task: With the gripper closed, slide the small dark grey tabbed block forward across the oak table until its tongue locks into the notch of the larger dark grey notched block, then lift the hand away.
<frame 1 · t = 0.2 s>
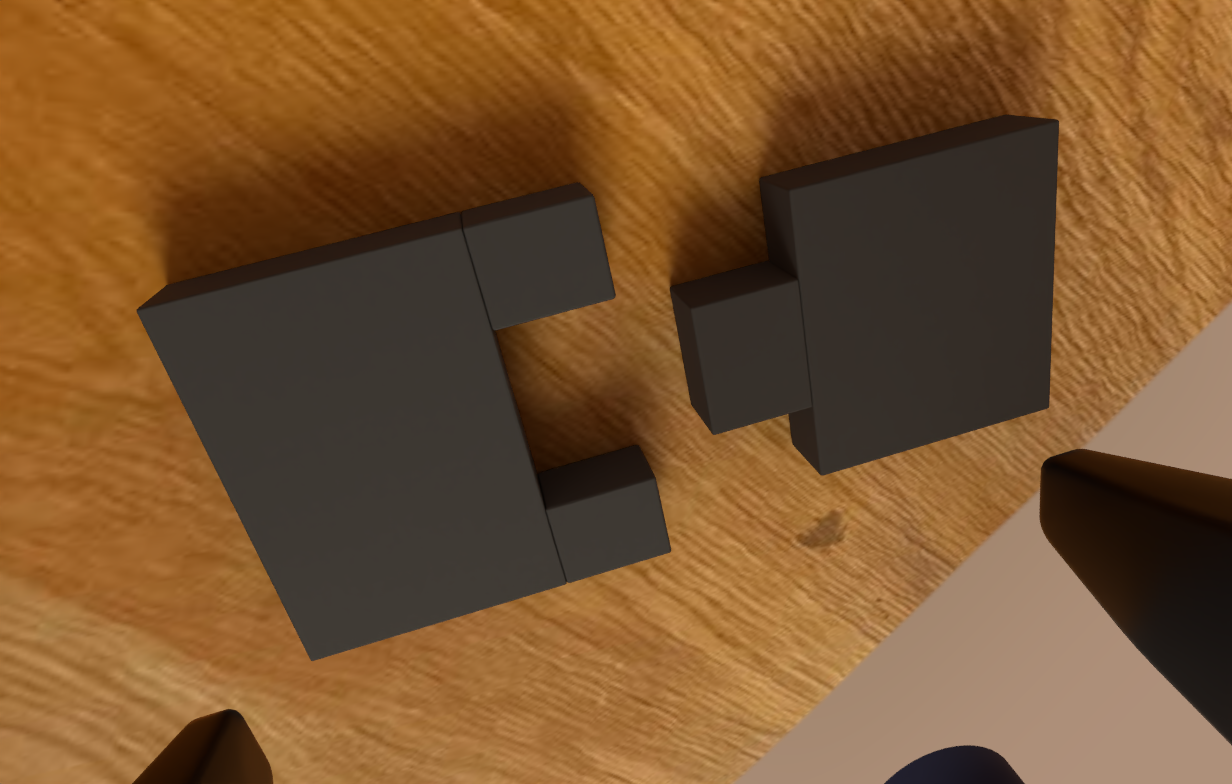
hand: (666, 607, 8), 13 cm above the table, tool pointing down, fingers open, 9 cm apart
dark grey notched block: (440, 414, 21), on the table
dark grey tabbed block: (892, 289, 22), on the table
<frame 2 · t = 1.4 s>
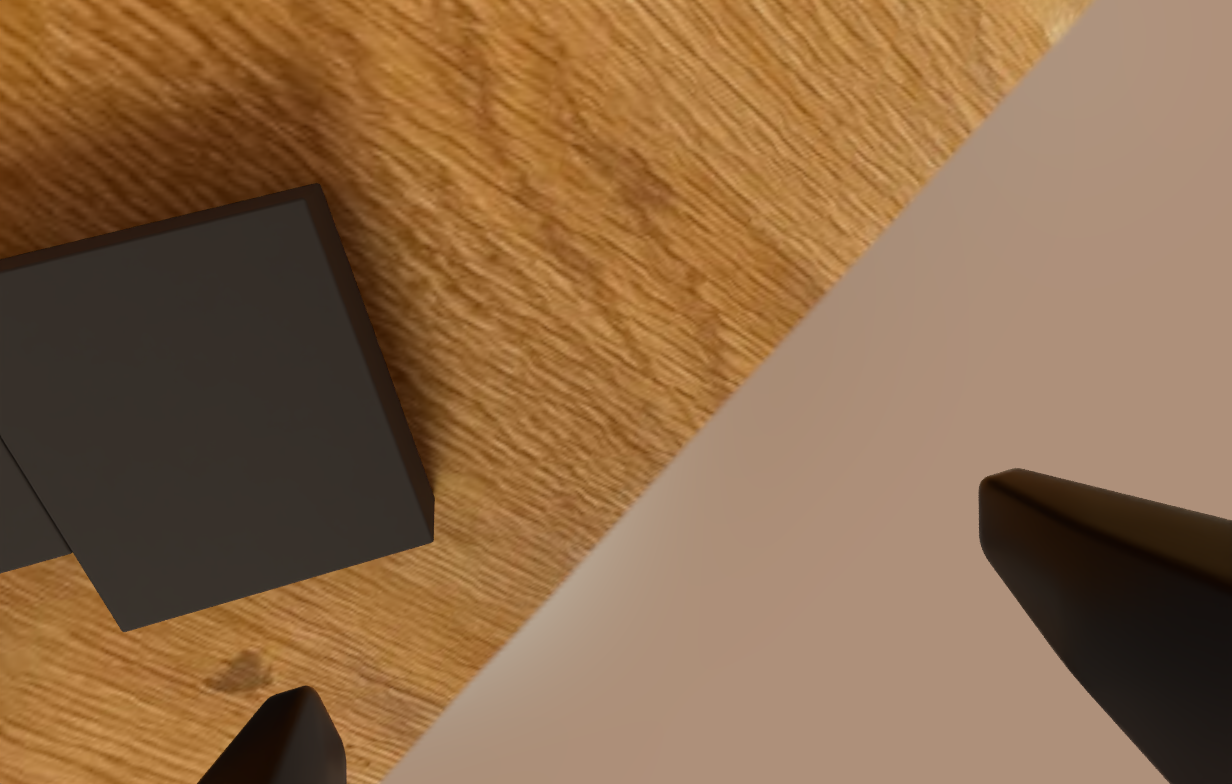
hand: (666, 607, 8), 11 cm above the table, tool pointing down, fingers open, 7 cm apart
dark grey tabbed block: (230, 395, 18), on the table
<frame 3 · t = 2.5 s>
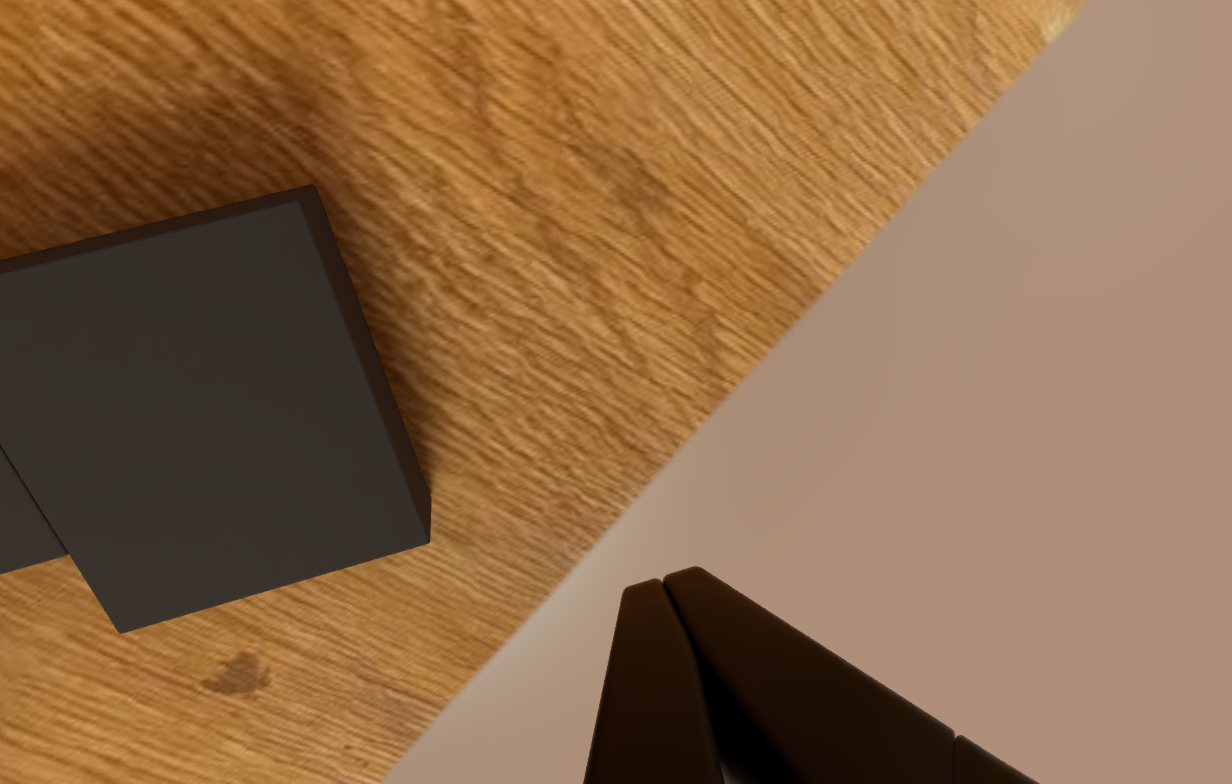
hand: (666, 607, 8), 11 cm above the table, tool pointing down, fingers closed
dark grey tabbed block: (226, 397, 18), on the table
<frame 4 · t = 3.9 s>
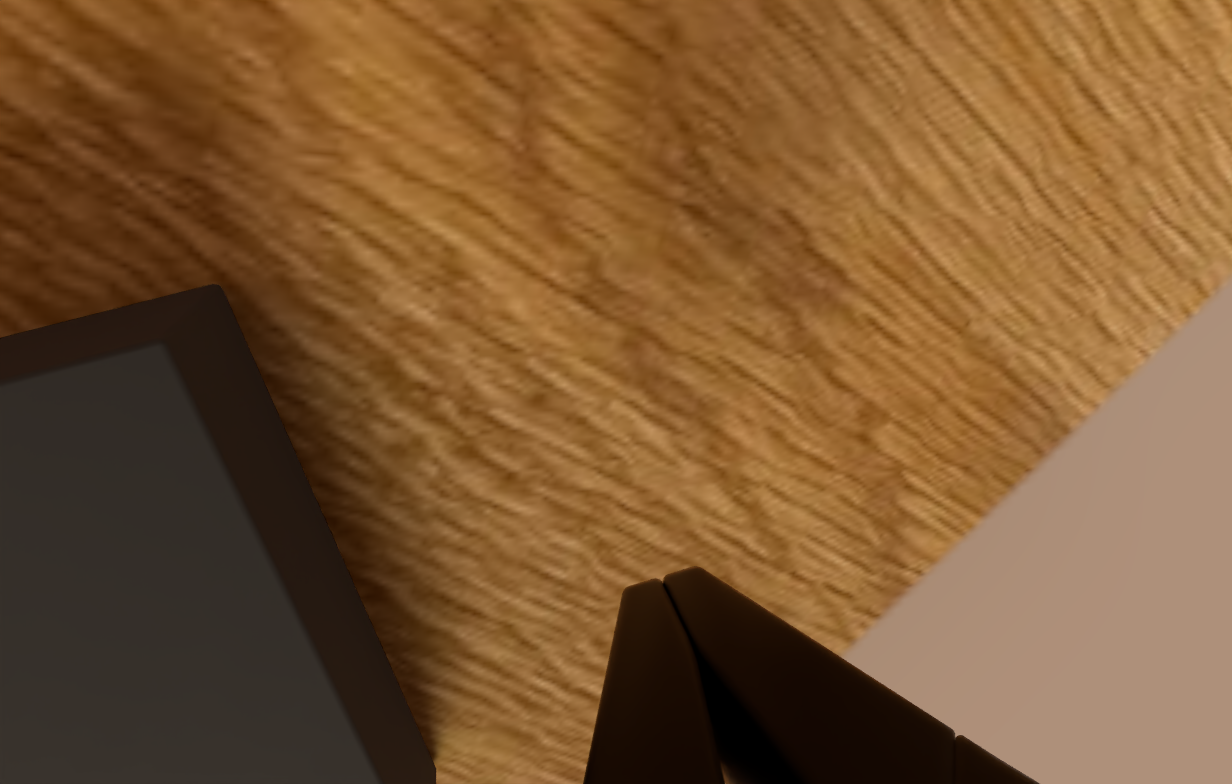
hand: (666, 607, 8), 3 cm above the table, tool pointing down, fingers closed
dark grey tabbed block: (77, 642, 10), on the table
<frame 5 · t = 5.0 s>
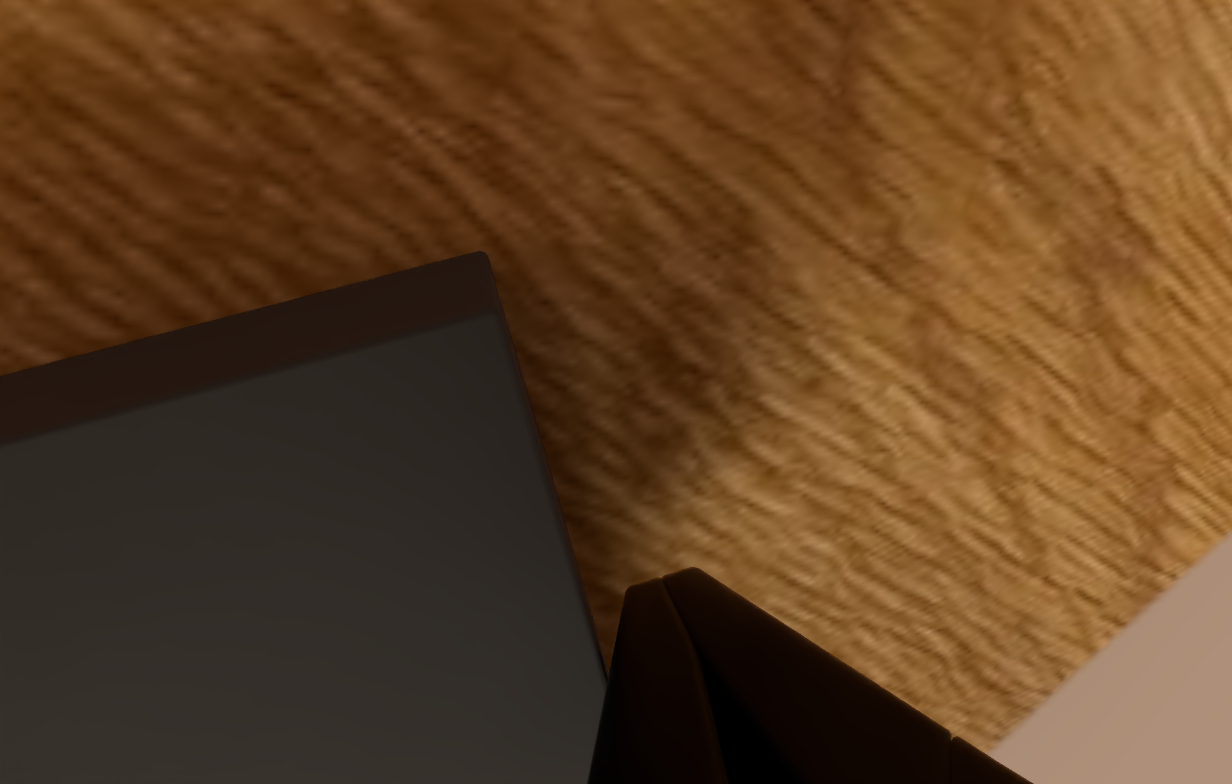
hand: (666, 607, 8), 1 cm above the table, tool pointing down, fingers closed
dark grey tabbed block: (284, 663, 9), on the table, touching gripper
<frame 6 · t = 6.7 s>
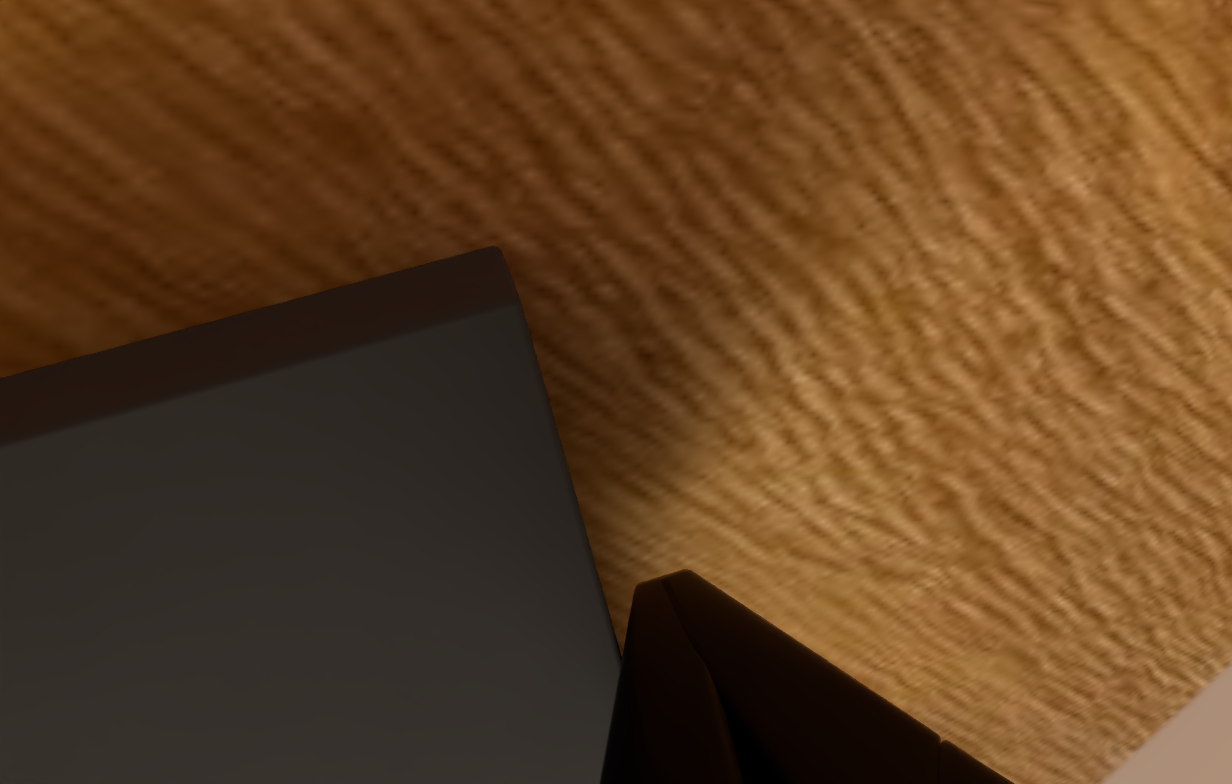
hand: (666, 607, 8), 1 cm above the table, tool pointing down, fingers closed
dark grey tabbed block: (298, 659, 9), on the table, touching dark grey notched block, gripper
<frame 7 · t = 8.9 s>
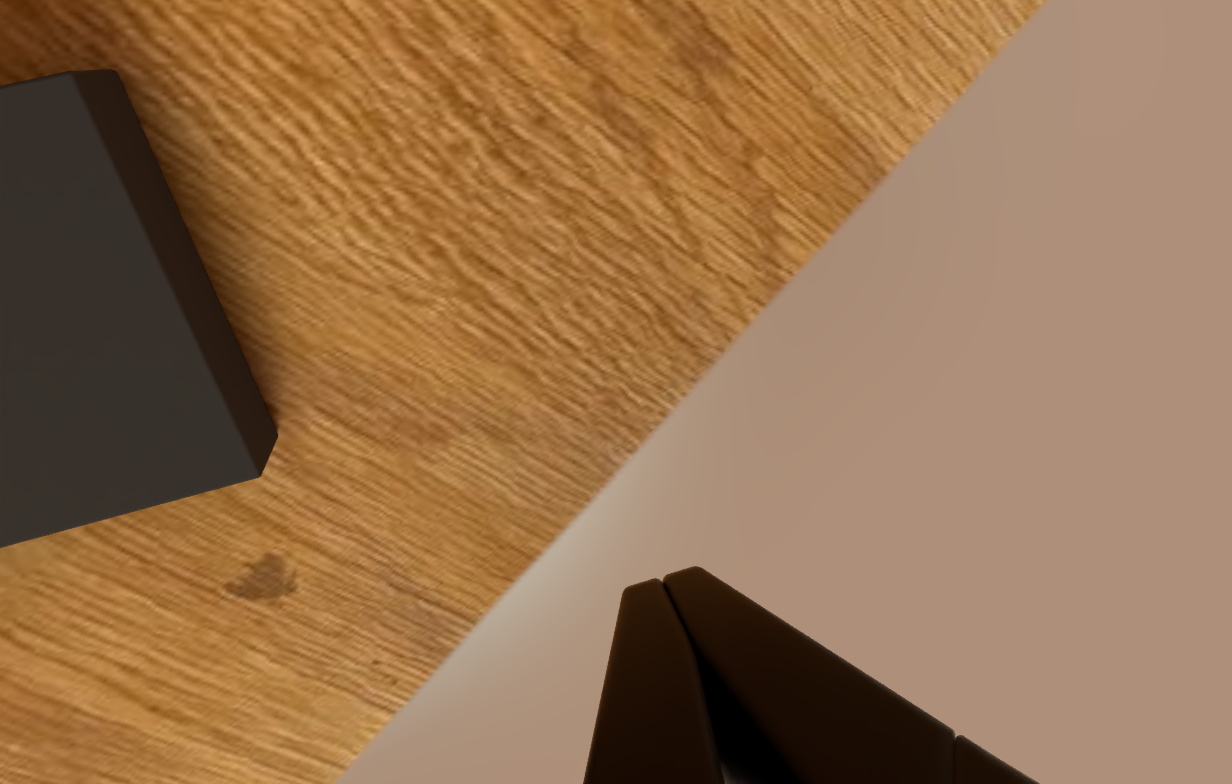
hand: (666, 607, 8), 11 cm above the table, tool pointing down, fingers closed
dark grey tabbed block: (33, 313, 16), on the table, touching dark grey notched block
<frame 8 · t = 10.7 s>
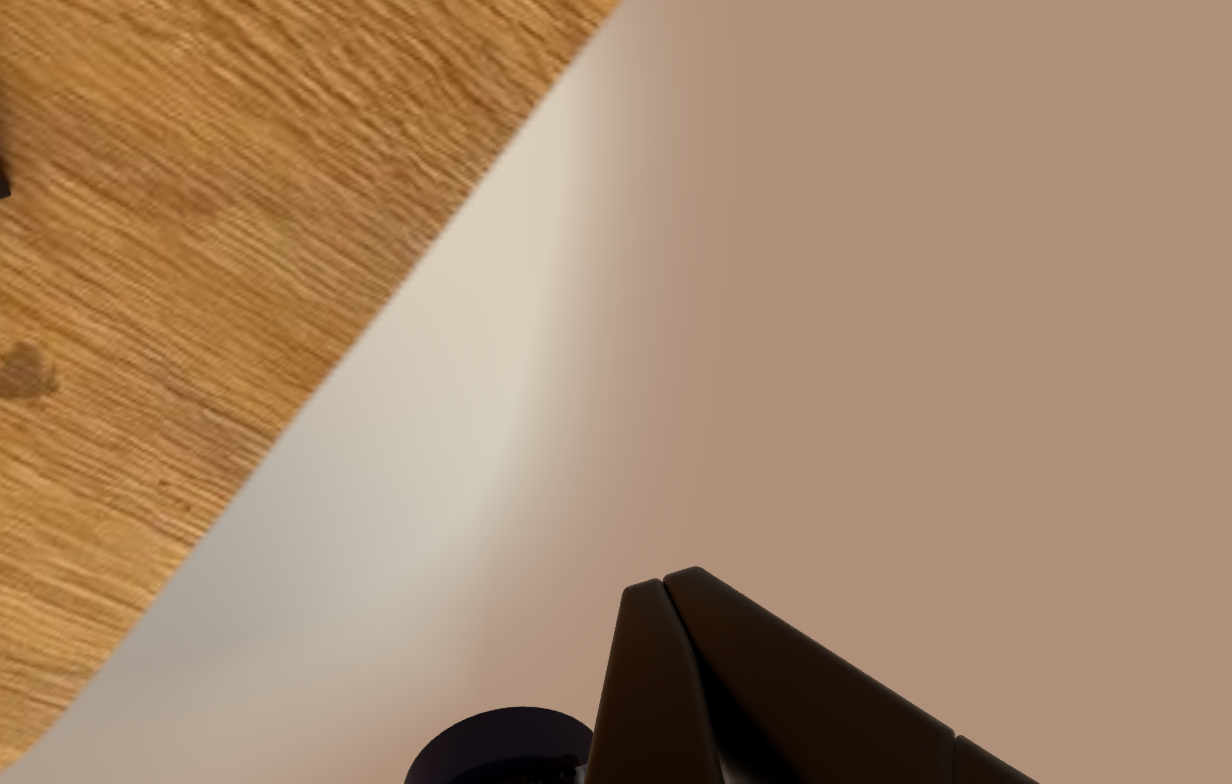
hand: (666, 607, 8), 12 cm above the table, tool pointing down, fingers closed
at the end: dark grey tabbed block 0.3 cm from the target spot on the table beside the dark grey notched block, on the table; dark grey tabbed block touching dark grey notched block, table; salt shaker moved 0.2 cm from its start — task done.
